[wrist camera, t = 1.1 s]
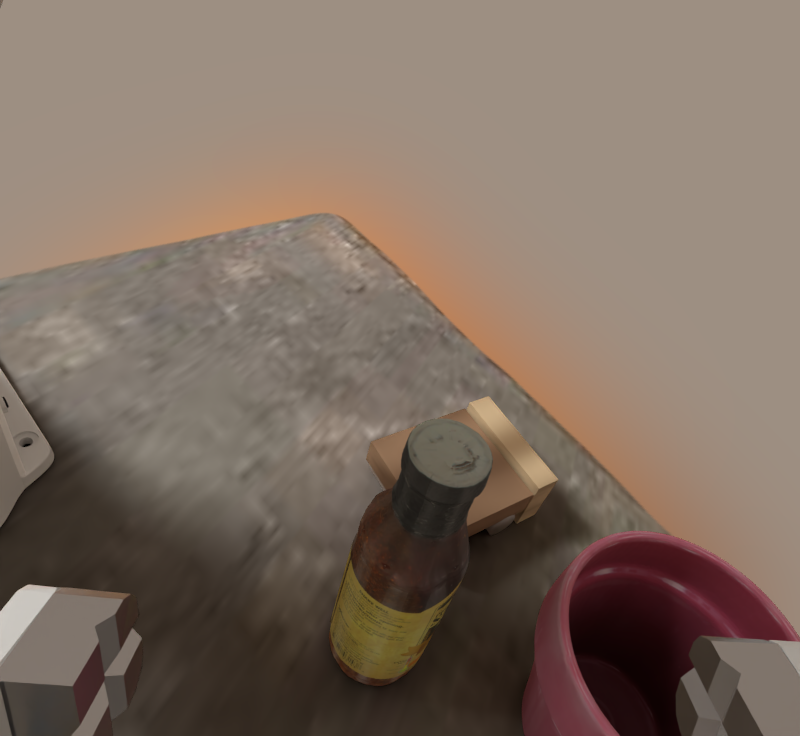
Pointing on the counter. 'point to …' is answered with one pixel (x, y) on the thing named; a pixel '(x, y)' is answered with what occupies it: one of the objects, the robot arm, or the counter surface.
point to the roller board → (510, 475)
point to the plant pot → (634, 634)
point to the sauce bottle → (409, 554)
